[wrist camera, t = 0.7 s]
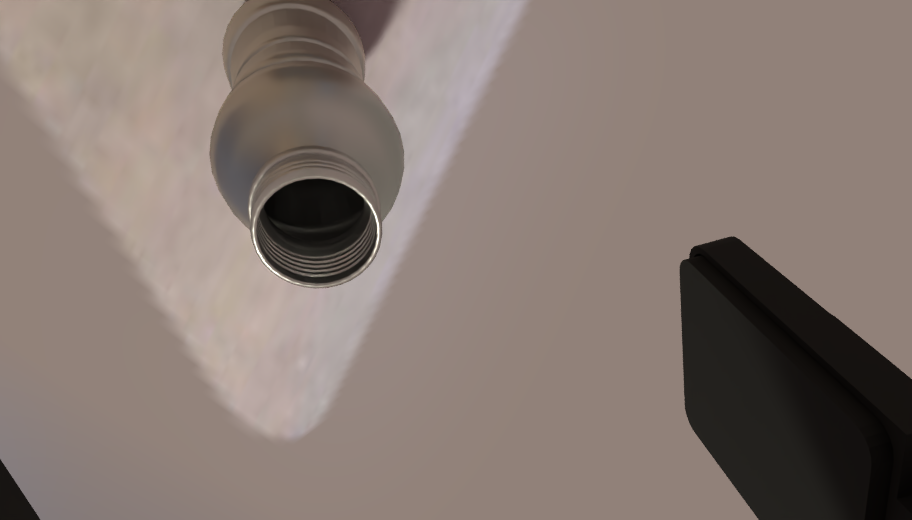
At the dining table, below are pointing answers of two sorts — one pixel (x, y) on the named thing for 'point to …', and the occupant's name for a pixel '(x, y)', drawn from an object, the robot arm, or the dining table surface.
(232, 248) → the dining table surface
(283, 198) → the plastic bottle
